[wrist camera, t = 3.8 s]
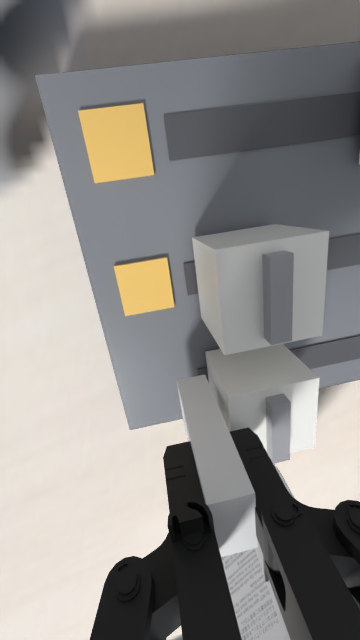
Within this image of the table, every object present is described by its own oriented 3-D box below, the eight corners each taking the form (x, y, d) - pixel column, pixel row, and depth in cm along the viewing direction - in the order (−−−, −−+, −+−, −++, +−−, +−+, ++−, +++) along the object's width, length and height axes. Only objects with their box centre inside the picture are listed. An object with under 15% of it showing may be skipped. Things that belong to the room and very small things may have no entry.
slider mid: (201, 317, 15) (229, 363, 10) (192, 237, 13) (220, 252, 9) (275, 303, 15) (332, 342, 11) (275, 224, 13) (340, 232, 9)
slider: (212, 410, 17) (238, 478, 13) (205, 351, 15) (232, 407, 11) (276, 396, 17) (322, 457, 13) (275, 337, 16) (328, 386, 11)
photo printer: (208, 532, 27) (264, 776, 15) (171, 520, 25) (203, 779, 14) (281, 459, 24) (411, 679, 13) (246, 440, 23) (357, 670, 12)
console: (130, 398, 20) (129, 432, 17) (55, 102, 13) (33, 73, 10) (417, 338, 22) (461, 359, 19) (477, 54, 15) (560, 18, 12)
